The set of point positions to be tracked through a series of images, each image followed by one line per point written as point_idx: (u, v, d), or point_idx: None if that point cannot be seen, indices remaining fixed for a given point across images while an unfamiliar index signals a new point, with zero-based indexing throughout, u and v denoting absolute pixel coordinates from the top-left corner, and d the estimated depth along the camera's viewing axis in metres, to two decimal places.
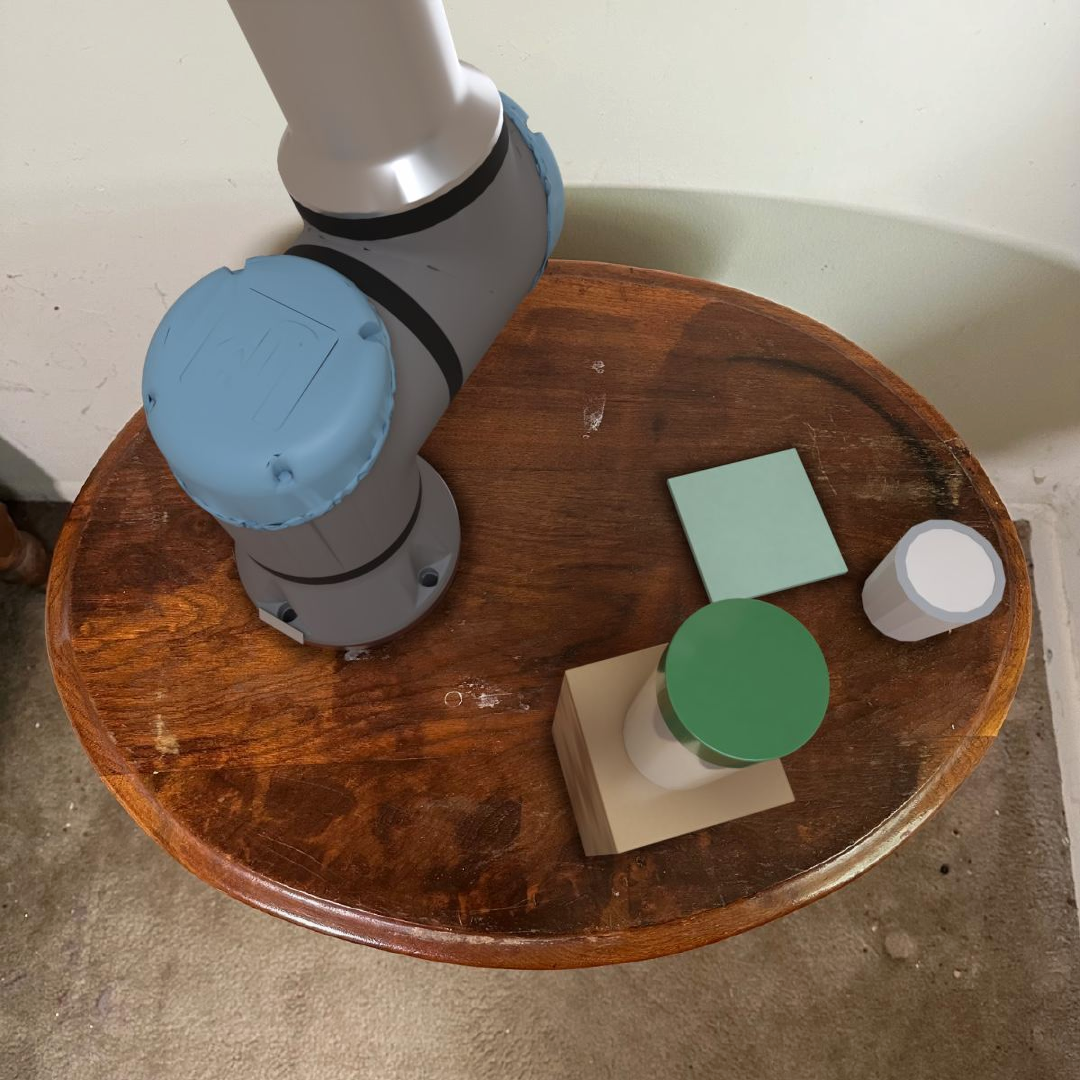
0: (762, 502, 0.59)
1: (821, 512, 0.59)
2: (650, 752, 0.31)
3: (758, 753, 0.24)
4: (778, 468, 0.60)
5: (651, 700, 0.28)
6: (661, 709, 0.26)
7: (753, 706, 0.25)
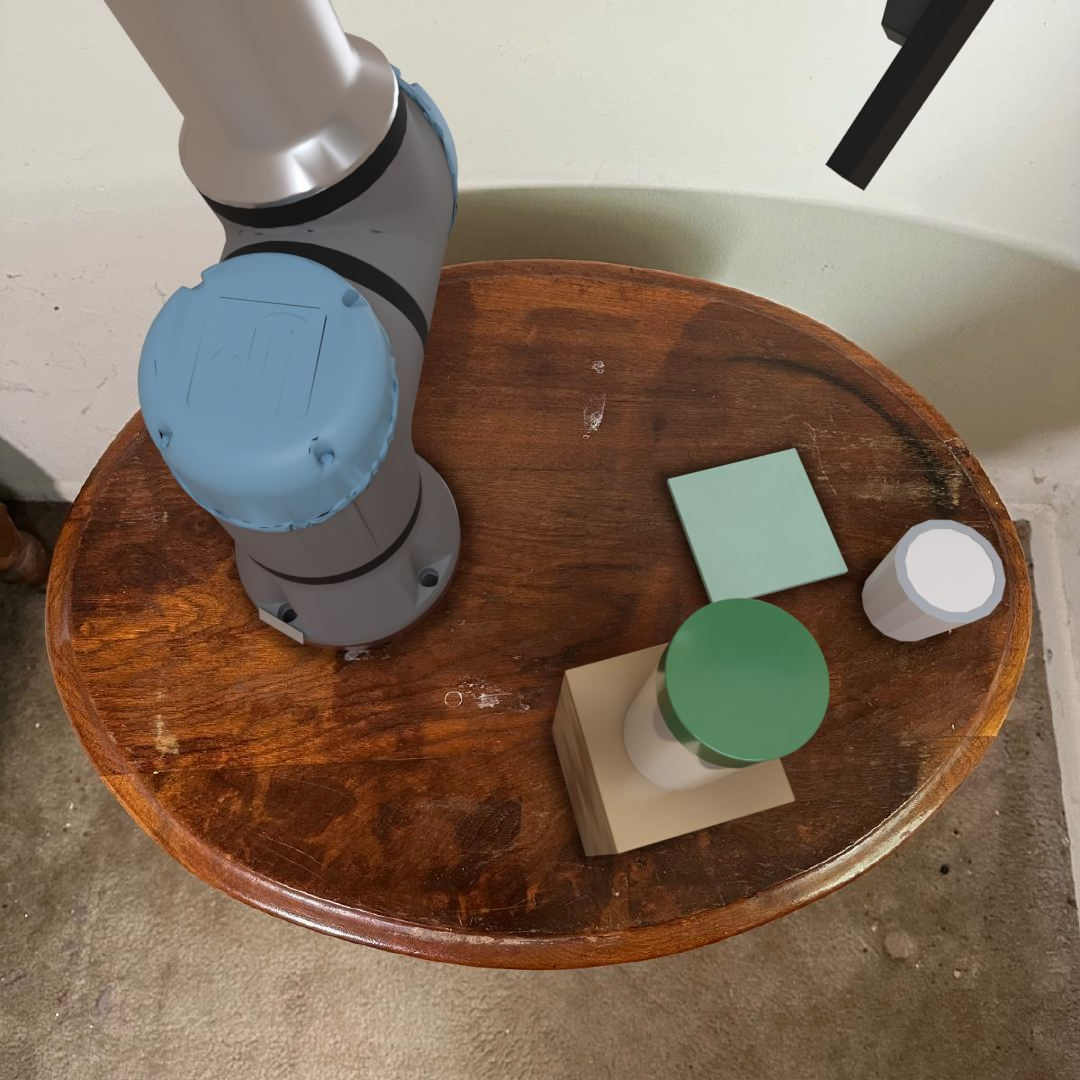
0: (762, 502, 0.59)
1: (821, 512, 0.59)
2: (650, 752, 0.31)
3: (758, 753, 0.24)
4: (778, 468, 0.60)
5: (651, 700, 0.28)
6: (661, 709, 0.26)
7: (753, 706, 0.25)
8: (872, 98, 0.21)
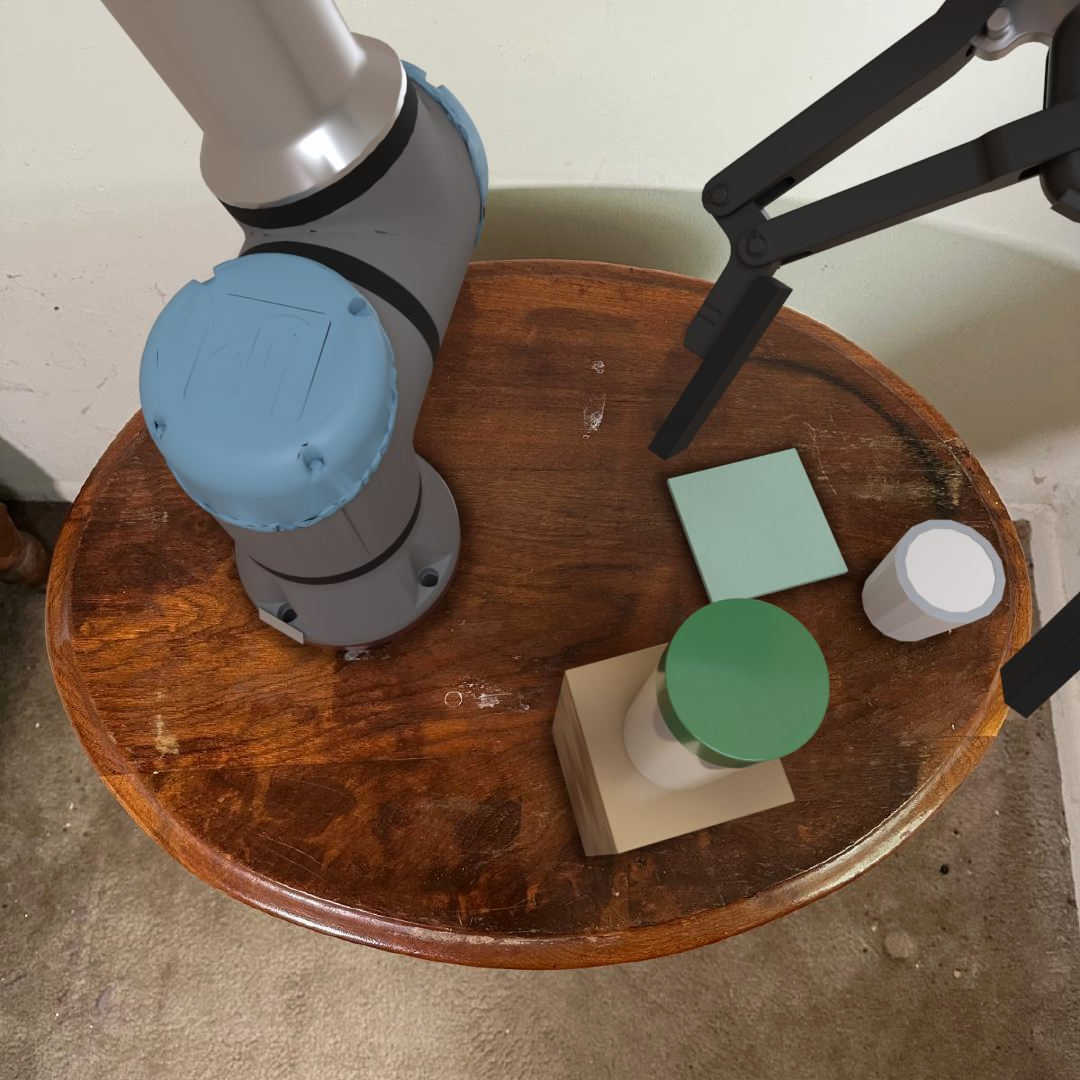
0: (762, 502, 0.59)
1: (821, 512, 0.59)
2: (650, 752, 0.31)
3: (758, 753, 0.24)
4: (778, 468, 0.60)
5: (651, 700, 0.28)
6: (661, 709, 0.26)
7: (753, 706, 0.25)
8: (678, 405, 0.27)
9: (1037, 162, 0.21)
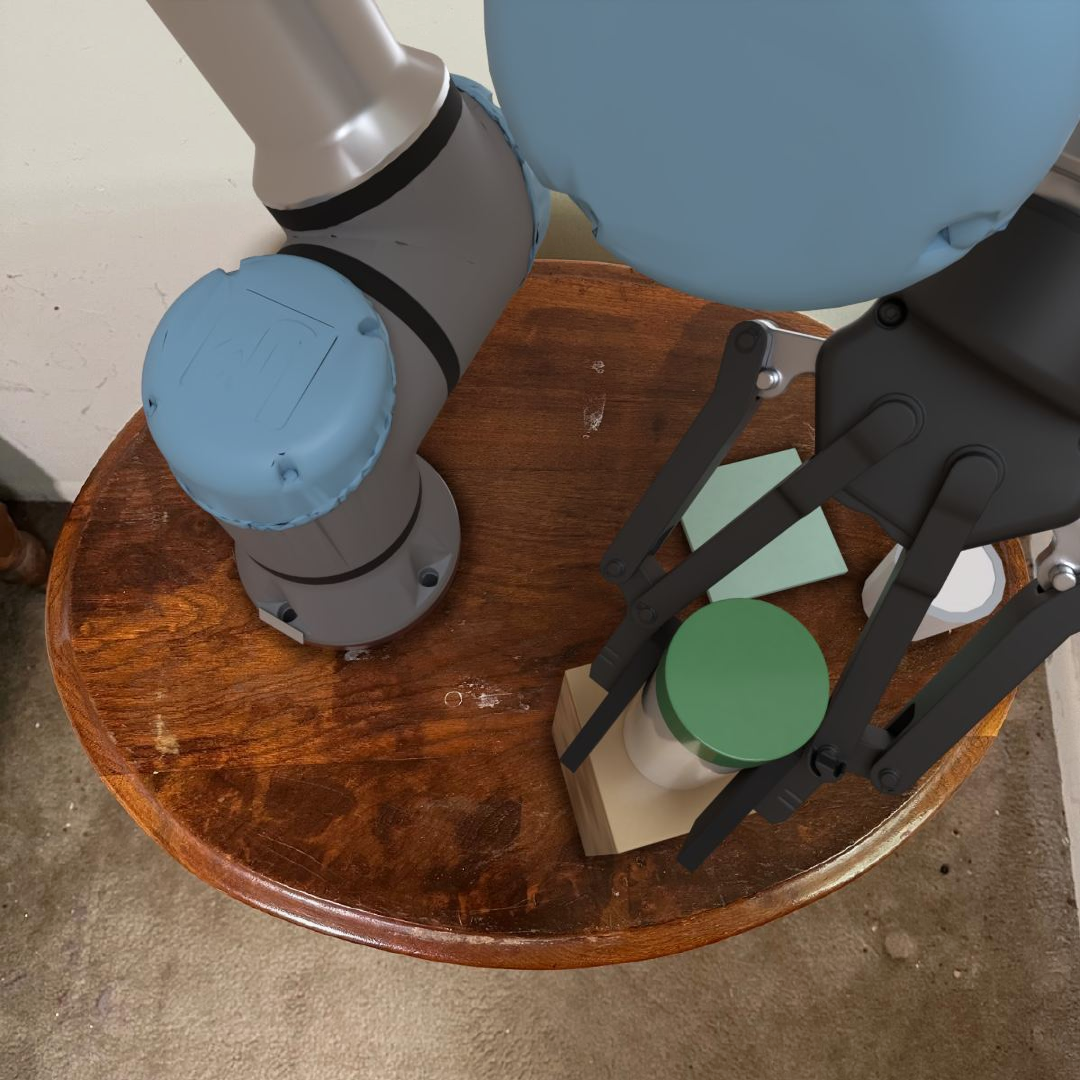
0: None
1: (821, 512, 0.59)
2: (650, 752, 0.31)
3: (758, 753, 0.24)
4: (778, 468, 0.60)
5: (651, 700, 0.28)
6: (661, 709, 0.26)
7: (753, 706, 0.25)
8: (584, 730, 0.30)
9: (829, 497, 0.24)
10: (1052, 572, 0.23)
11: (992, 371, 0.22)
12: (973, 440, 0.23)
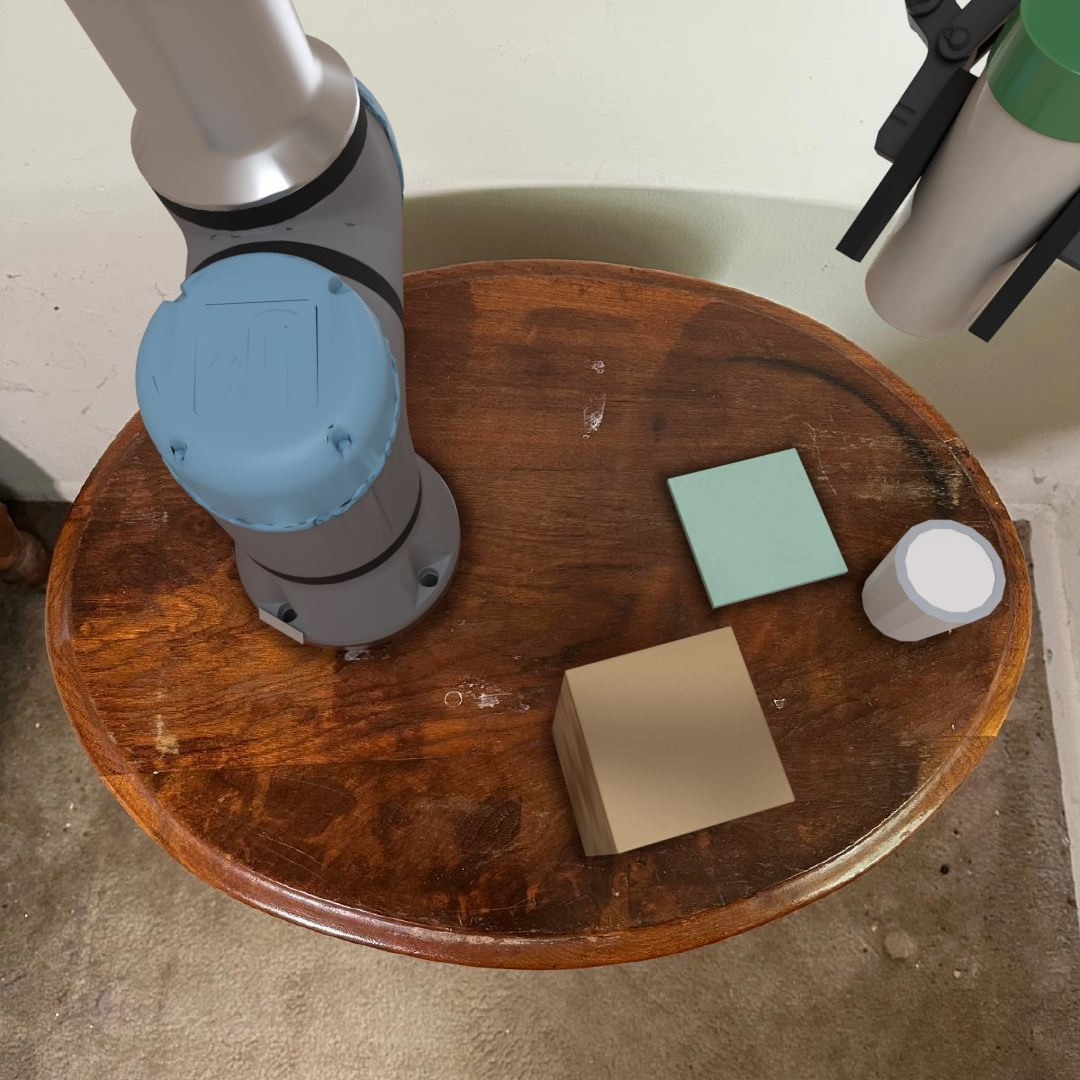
0: (762, 502, 0.59)
1: (821, 512, 0.59)
2: (933, 237, 0.30)
3: None
4: (778, 468, 0.60)
5: (965, 124, 0.27)
6: (1000, 88, 0.25)
7: None
8: (869, 202, 0.29)
9: None
10: None
11: None
12: None
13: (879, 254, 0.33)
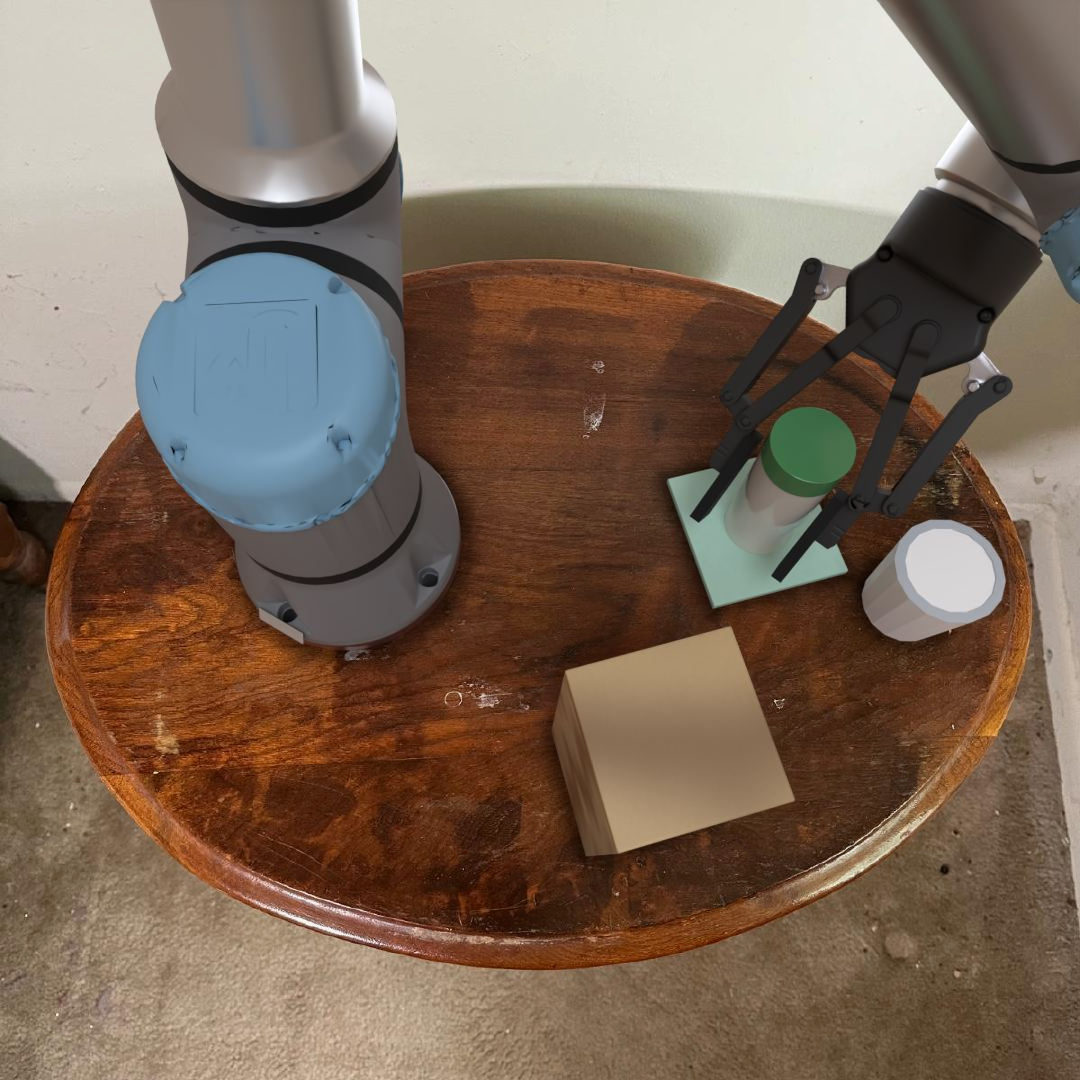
0: None
1: None
2: (749, 514, 0.54)
3: (820, 479, 0.47)
4: None
5: (755, 472, 0.51)
6: (765, 467, 0.49)
7: (816, 458, 0.47)
8: (705, 495, 0.53)
9: (851, 349, 0.47)
10: (968, 384, 0.46)
11: (934, 282, 0.45)
12: (926, 317, 0.46)
13: (729, 507, 0.57)
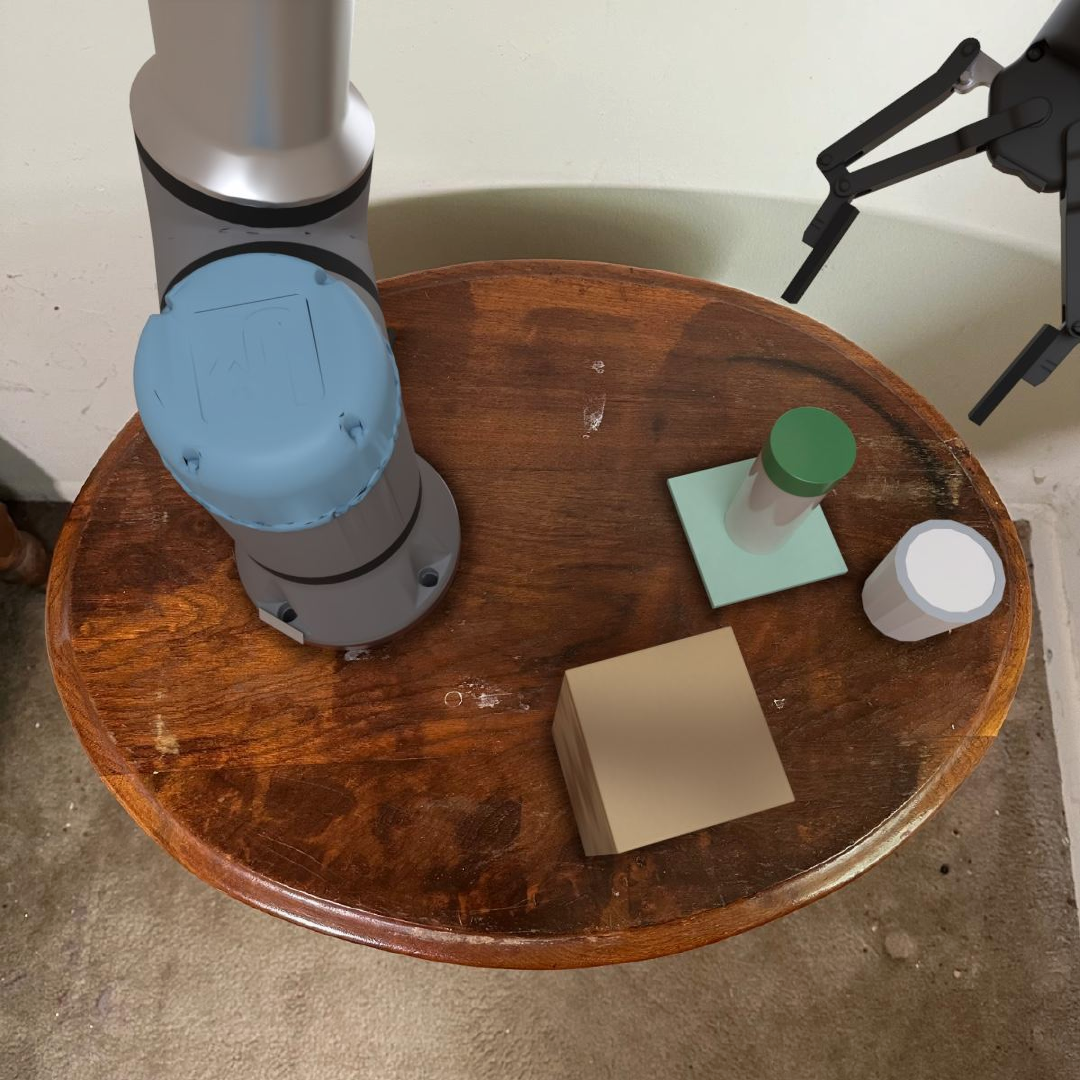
0: None
1: (821, 512, 0.59)
2: (749, 514, 0.54)
3: (820, 479, 0.47)
4: None
5: (756, 472, 0.51)
6: (765, 467, 0.49)
7: (816, 458, 0.47)
8: (799, 272, 0.52)
9: (982, 142, 0.46)
10: None
11: None
12: (1078, 118, 0.44)
13: (729, 507, 0.57)
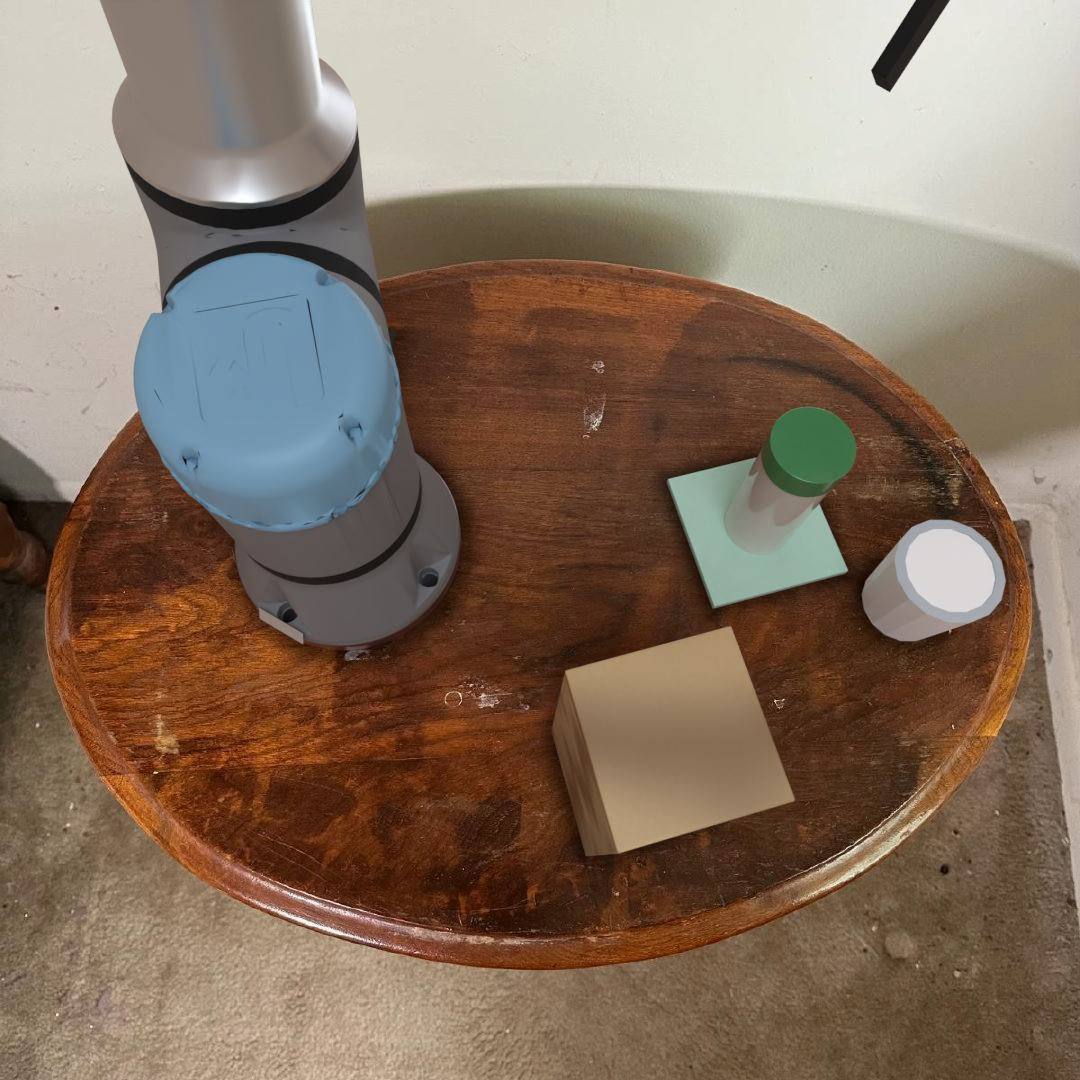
0: None
1: (821, 512, 0.59)
2: (749, 514, 0.54)
3: (820, 479, 0.47)
4: None
5: (756, 472, 0.51)
6: (765, 467, 0.49)
7: (816, 458, 0.47)
8: (900, 28, 0.35)
9: None
10: None
11: None
12: None
13: (729, 507, 0.57)
